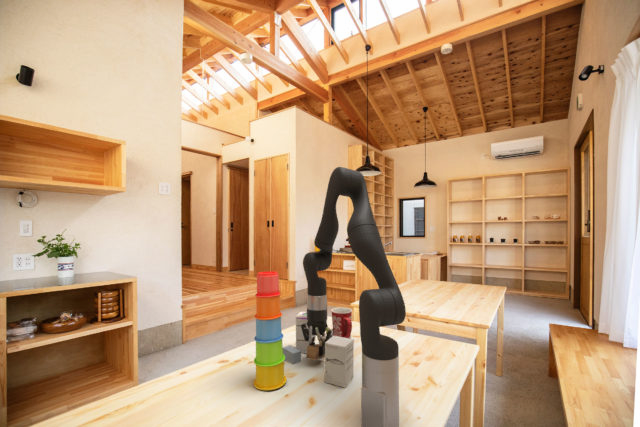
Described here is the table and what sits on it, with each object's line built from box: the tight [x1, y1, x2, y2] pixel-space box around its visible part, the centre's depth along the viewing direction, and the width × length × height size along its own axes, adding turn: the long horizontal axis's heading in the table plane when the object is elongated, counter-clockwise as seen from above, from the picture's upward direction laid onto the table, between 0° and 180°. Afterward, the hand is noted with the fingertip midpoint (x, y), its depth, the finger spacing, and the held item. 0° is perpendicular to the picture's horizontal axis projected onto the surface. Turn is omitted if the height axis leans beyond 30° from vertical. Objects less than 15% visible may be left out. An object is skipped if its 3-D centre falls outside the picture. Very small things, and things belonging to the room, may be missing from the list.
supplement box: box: [324, 336, 355, 389], centre depth 94 cm, size 7×7×13 cm
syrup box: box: [295, 311, 310, 355], centre depth 117 cm, size 6×6×14 cm
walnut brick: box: [305, 343, 325, 361], centre depth 106 cm, size 7×4×4 cm, turn 145°
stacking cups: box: [253, 270, 288, 392], centre depth 93 cm, size 10×10×35 cm
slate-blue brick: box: [283, 344, 302, 365], centre depth 108 cm, size 7×4×4 cm, turn 43°
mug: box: [331, 307, 353, 339], centre depth 124 cm, size 13×9×14 cm
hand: (317, 354), depth 106 cm, fingers closed on walnut brick, 3 cm apart
